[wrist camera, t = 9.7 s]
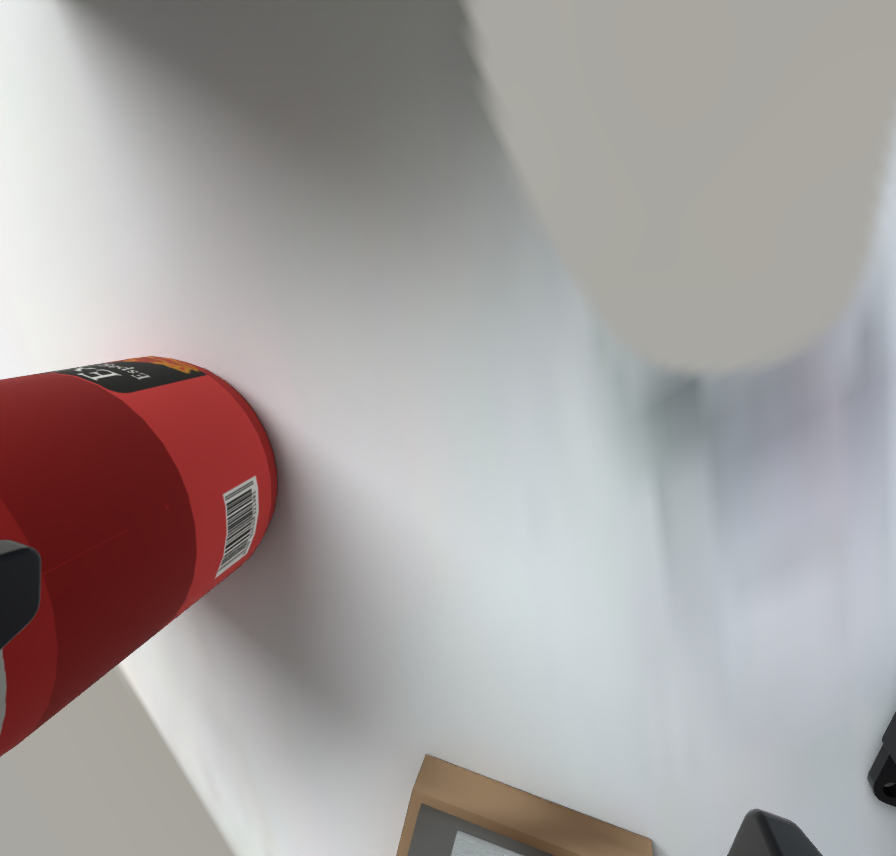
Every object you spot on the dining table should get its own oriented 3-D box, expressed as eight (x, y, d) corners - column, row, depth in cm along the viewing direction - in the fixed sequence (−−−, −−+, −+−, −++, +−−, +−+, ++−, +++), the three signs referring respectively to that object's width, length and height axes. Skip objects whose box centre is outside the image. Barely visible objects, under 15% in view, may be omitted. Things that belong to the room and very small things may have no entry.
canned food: (209, 312, 20) (-214, 347, 10) (327, 524, 21) (52, 768, 10) (55, 411, 23) (-414, 525, 12) (167, 598, 23) (-186, 856, 13)
